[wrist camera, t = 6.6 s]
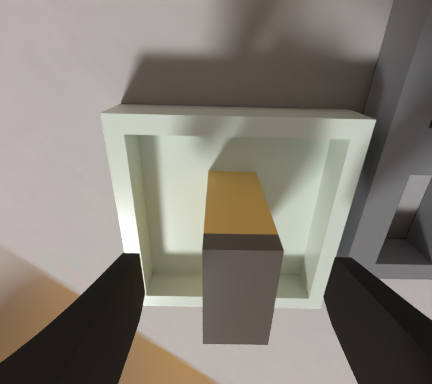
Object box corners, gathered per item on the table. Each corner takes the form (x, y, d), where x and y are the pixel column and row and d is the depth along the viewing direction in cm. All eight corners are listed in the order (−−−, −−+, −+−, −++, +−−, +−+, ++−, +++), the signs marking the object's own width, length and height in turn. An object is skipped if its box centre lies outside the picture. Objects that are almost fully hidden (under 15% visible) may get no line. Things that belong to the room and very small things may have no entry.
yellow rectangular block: (256, 171, 13) (283, 250, 8) (249, 242, 15) (267, 344, 10) (208, 171, 13) (202, 249, 8) (207, 242, 15) (203, 343, 10)
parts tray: (349, 109, 12) (376, 119, 10) (307, 278, 17) (320, 308, 15) (119, 103, 12) (100, 113, 10) (143, 275, 17) (133, 305, 15)
